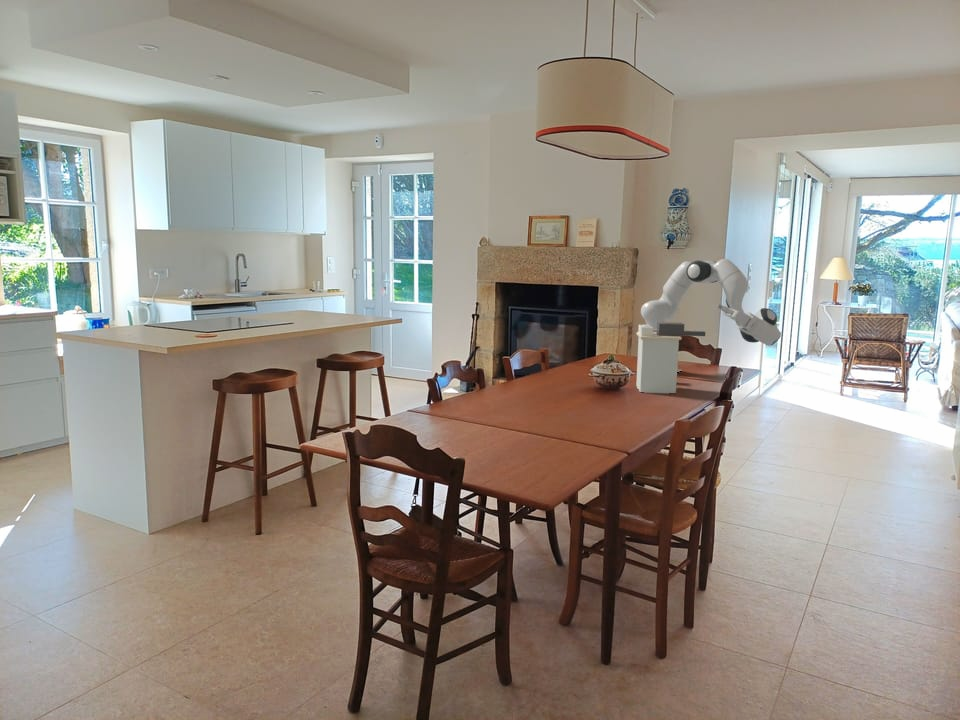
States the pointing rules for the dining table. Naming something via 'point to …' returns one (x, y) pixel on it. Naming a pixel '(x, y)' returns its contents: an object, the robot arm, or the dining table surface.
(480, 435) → the dining table surface
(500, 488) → the dining table surface
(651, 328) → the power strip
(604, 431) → the dining table surface
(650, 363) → the cabinet
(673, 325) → the dark grey stepped bar
